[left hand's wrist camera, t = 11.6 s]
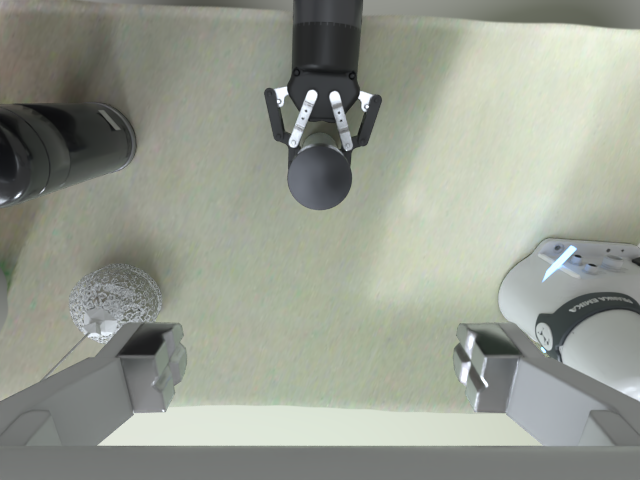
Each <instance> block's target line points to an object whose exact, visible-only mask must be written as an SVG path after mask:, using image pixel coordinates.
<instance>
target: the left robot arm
mask: <svg viewBox="0 0 640 480" xmlns="http://www.w3.org/2000/svg"><path fill="white" fill-rule="evenodd" d="M556 246H558V247H557V248H555V247H556ZM498 303H499V308H500V310H501V312H502V314H503V316H504V317H505V318H506V319H507V320H508V321H509V322H494V323H460V324H459V326H458V328H457V334H456V336H457V338H458V339H459V341H460V343H459V344H458V345H457V346H456V347H455V348H454V353H453V365H454V370H455V374H456V376H457V378H458V380H459V382H461V383H462V384H464V385H465V386H466V390H465V394H466V396H467V398H468V400H469V402H470V404H471V406H472V408H473V410H474V412H490V413H506V415H507V416H509V417H510V418H511V419H512V420H513V421H515V422H516V423H517V424H518V425H519V426H521V427H522V428H523V429H524V430H525V431H527V432H528V433H529V434H530V435H531V436H533V437H534V438H535V439H536V440H537V441H539V442H540V443H541V444H542V445H543V446H97V445H98V444H99V443H100V442H102V441H103V440H104V439H105V438H106V437H108V436H109V435H110V434H111V433H112V432H113V431H115V430H116V429H117V428H118V427H119V426H121V425H122V424H123V423H124V422H125V421H127V420H128V419H129V418H130V417H131V416H133V415H134V413H150V412H166V410H167V408H168V406H169V404H170V402H171V400H172V398H173V396H174V394H175V390H174V386H175V385H176V384H178V383H179V382H181V380H182V378H183V376H184V374H185V370H186V365H187V352H186V348H185V347H184V346H183V345H182V344H181V343H180V341H181V339H182V338H183V336H184V334H183V329H182V325H181V324H179V323H161V322H128V323H125V324H124V325H123V326H122V327H121V328H120V329H119V330H118V331H117V332H116V334H115V335H114V336H113V337H112V338H111V339H110V340H109V341H108V343H107V344H106V345H105V346H104V347H103V348H102V349H101V350H100V352H99V353H98V354H97V355H96V356H95V357H89V358H87V359H85V360H83V361H81V362H79V363H77V364H75V365H72V366H70V367H68V368H66V369H64V370H62V371H60V372H58V373H56V374H54V375H52V376H50V377H48V378H46V379H44V380H42V381H40V382H38V383H36V384H34V385H32V386H30V387H28V388H26V389H24V390H22V391H20V392H18V393H16V394H14V395H12V396H10V397H8V398H6V399H4V400H2V401H0V480H640V248H639V247H637V246H636V245H634V244H626V243H612V242H598V241H584V240H569V239H555V238H547V239H545V240H543V241H542V242H541V243H540V244H539V245H538V246H537V247H536V249H535V250H534V251H533V253H532V254H531V255H530V256H528V257H527V258H525V259H524V260H522V261H521V262H519V263H518V264H517V265H516V266H515V267H513V268H512V269H511V270H510V272H509V273H508V274H507V275H506V277H505V278H504V280H503V282H502V284H501V287H500V290H499V295H498ZM521 329H522V330H523V331H524V332H526V333H527V334H528V336H529V337H530V338H532V339H533V340H534V341H535V342H538V343H539V344H540V345H541V346H542V347H543V348H541V349H542V351H543V352H546V353H547V354H548V355H549V356H550V357H545V356H544V355H543V354H542V353H541V352H540V350H539V349H538V348H537V347H536V346H535V345H534V344H533V343H532V341H531V340H530V339H529V338H528V337H527V336H526V335H525V334H524V332H523V331H522V330H521Z"/></svg>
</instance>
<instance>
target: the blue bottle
mask: <svg viewBox="0 0 640 480" xmlns="http://www.w3.org/2000/svg"><path fill="white" fill-rule="evenodd" d="M315 143H324V144H329V145H332V146H334V147H335V148H337V149H338V147H337V145H336V142H335V141H334V139H333V138H332V137H331V136H330V135H328V134H326V133H322V132H318V133H314V134H311V135H310V136H309V137H307V139H306V140H305V141H304V144H303V146H302V149H303V148H304V147H306V146H308V145H311V144H315Z"/></svg>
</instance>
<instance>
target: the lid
mask: <svg viewBox="0 0 640 480" xmlns="http://www.w3.org/2000/svg"><path fill="white" fill-rule="evenodd" d="M351 183H352V173H351V169H350V166H349V164H348V161H347V159H346V158H345V156H344V155H343V154H342V152H341V151H339V150H338V149H337V148H335V147H334V146H332V145H329V144H324V143H315V144H311V145H308V146H306V147H304V148H303V149H301V150H300V151H299V152H298V153H297V154H296V155H295V157H294V158H293V160H292V162H291V165H290V167H289V170H288V186H289V189H290V192H291V193H292V195H293V197H294V198H295V199H296V200H297V201H298V202H299V203H300V204H302V205H303V206H305V207H307V208H310V209H314V210H326V209H330V208H332V207H334V206H336V205H338V204H339V203H341V202H342V201H343V200H344V199H345V197H346V196H347V194H348V192H349V190H350V187H351Z"/></svg>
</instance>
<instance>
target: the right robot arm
mask: <svg viewBox="0 0 640 480" xmlns="http://www.w3.org/2000/svg"><path fill="white" fill-rule="evenodd" d="M362 10H363V0H294V3H293V45H292V75H291V79H290V81H289V82H288V85H287V86H286V87H281V88H276V89H272V88H267V89H266V90H265V92H264V95H265V99H266V104H267V108H268V113H269V118H270V122H271V127H272V131H273V136H274V139H275V140H276V141H280V142H282V143H284V144H286V145H287V146H288V149H289V157H288V170H289V167H290V165H291V162H292V160H293V158H294V157H295V155H296V154H297V153H298V152H299V151H300V150H301V147H299V142H300V139H301V137H302V134H303V132H304V129H305V127H306V125H307V122H308V121H310V122H317V121H321V120H323V121H326V122H328V123H335V122H336V126H337V129H338V133H339V136H340V140H341V143H342V145H341V149H340V150H339V151H341V152H342V154H343V155H344V156H345V158H346V159H347V161H348V164H349V166H350V164H351V153H352V151H353V149H355V148H357V147H360V146H366V145H367V143H368V141H369V138H370V135H371V132H372V129H373V126H374V123H375V120H376V117H377V114H378V111H379V108H380V105H381V102H382V98H381V96H380V95H377V94H375V95H372V94H369V93H366V92H363V91H360V88H359V85H358V82H357V69H358V57H359V45H360V33H361V24H362ZM287 95H289V96H290V98H291V99H292V101H293V102H294V104H295V106H296V107H297V109H298V110H299V112H300V113H299V116H298V118H297V121H296V123H295V126H294V129H293V131H292V134H290V133H288V132H285V129H284V124H283V119H282V115H281V110H280V107H282V106H283V105H284V104H285V97H286V96H287ZM357 99H359V100H360V102H361V110H362V111H364V112H365V113H364V116H363V119H362V122H361V125H360V128H359V131H358V135H357V136H354V137H351V136H350V132H349V128H348V124H347V120H346V117H345V114H346V113H347V112H348V110H349V109H350V108H351V107H352V105H353V104H354V103H355V101H356V100H357ZM135 151H136V138H135V134H134V131H133V129H132V126H131V125H130V123H129V122H128V120H127V119H126V118H125V117H124V115H123V114H121V113H120V112H119V111H118V110H116V109H115V108H113V107H111V106H109V105H107V104H104V103H99V102H85V103H35V104H0V208H7V207H11V206H15V205H18V204H21V203H24V202H27V201H29V200H32V199H35V198H38V197H41V196H44V195H47V194H50V193H52V192H55V191H58V190H61V189H64V188H67V187H70V186H73V185H75V184H78V183H81V182H84V181H87V180H90V179H93V178H96V177H99V176H102V175H105V174H108V173H112V172H116V171H119V170H121V169H123V168H125V167H126V166H127V165H128V164H129V163H130V162H131V161H132V159H133V157H134V155H135Z"/></svg>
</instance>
